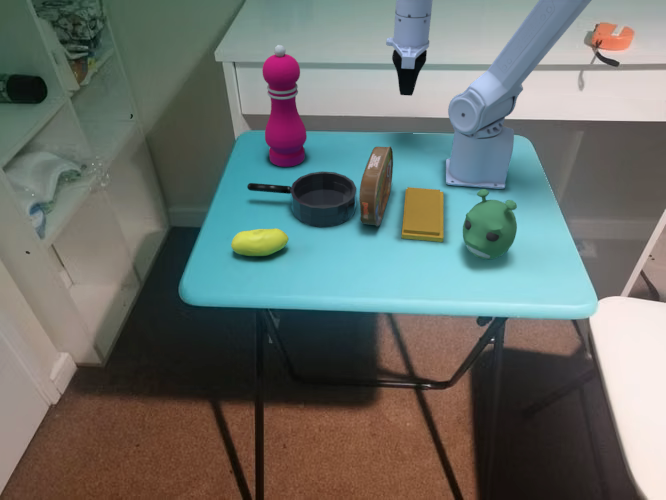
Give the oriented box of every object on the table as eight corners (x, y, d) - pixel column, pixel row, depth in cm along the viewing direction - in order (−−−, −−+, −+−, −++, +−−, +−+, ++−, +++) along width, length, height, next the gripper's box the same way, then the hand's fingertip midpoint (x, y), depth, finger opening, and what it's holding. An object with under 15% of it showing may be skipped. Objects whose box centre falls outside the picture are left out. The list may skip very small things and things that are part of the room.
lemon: (233, 244, 78) (230, 222, 75) (289, 241, 78) (287, 219, 76) (231, 263, 75) (228, 241, 72) (289, 260, 75) (287, 238, 72)
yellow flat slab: (442, 195, 87) (443, 188, 86) (442, 242, 78) (444, 234, 77) (405, 192, 88) (406, 185, 87) (401, 238, 78) (402, 230, 78)
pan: (359, 192, 88) (359, 174, 85) (351, 229, 80) (351, 210, 78) (299, 187, 89) (298, 169, 87) (285, 223, 81) (284, 204, 79)
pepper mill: (315, 154, 97) (311, 42, 84) (292, 172, 92) (285, 57, 80) (282, 144, 100) (274, 34, 87) (258, 161, 95) (246, 48, 82)
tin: (376, 237, 79) (379, 189, 73) (355, 234, 79) (356, 186, 74) (393, 182, 90) (396, 137, 84) (374, 180, 90) (377, 135, 85)
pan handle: (293, 191, 84) (293, 184, 83) (291, 195, 83) (291, 189, 83) (248, 187, 85) (248, 181, 84) (246, 191, 84) (245, 185, 83)
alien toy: (445, 256, 75) (455, 197, 69) (476, 231, 80) (488, 174, 73) (489, 280, 72) (503, 220, 65) (519, 253, 76) (535, 194, 69)
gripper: (391, -2, 92) (386, 76, 100) (384, 26, 81) (379, 110, 90) (433, 0, 91) (424, 78, 100) (431, 28, 80) (422, 113, 89)
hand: (406, 93), depth 95 cm, fingers closed
